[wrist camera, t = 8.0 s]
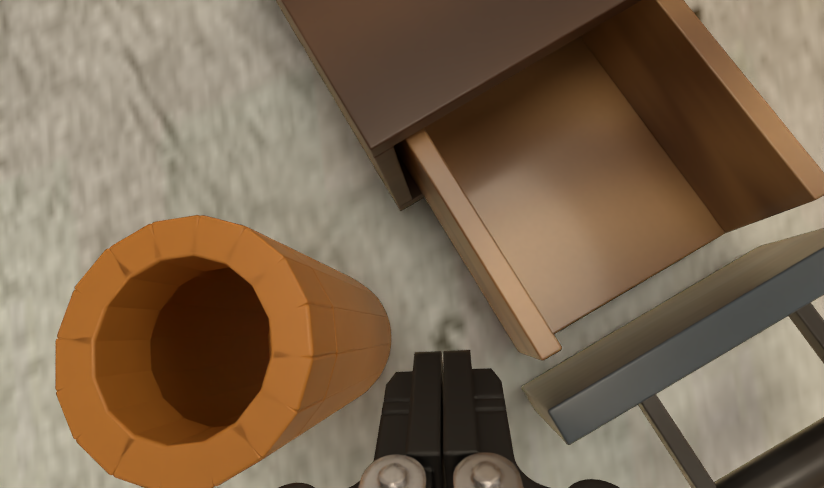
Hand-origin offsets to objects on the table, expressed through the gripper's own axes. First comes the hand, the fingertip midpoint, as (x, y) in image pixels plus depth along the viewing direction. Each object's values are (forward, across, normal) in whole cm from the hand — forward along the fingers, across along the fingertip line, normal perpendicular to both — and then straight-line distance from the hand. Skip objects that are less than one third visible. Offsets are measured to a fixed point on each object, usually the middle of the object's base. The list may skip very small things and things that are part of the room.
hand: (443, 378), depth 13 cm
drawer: (+10, -7, +1) cm, 13 cm away
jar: (+9, +6, +5) cm, 12 cm away
